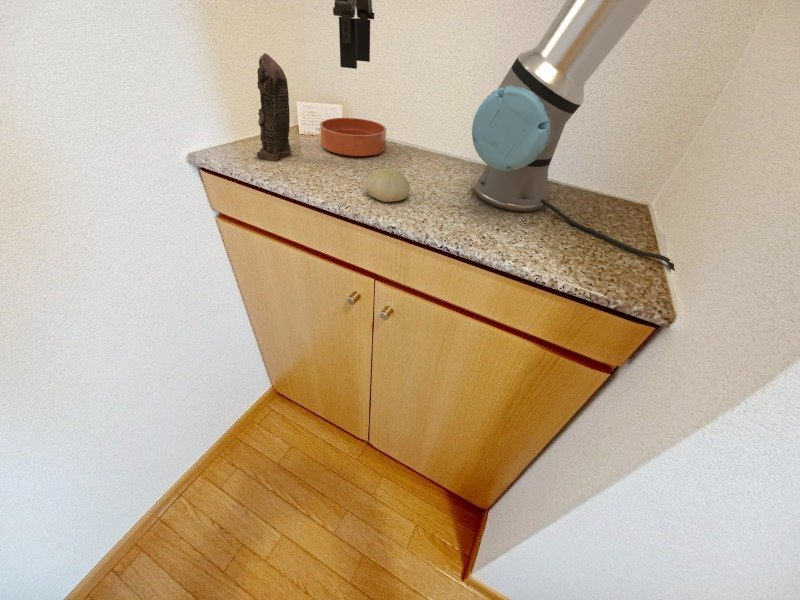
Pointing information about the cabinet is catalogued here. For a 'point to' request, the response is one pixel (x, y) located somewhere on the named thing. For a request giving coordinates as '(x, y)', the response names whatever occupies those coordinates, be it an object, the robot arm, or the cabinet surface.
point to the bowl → (353, 136)
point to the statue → (273, 110)
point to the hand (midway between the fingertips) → (356, 64)
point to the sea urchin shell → (387, 185)
